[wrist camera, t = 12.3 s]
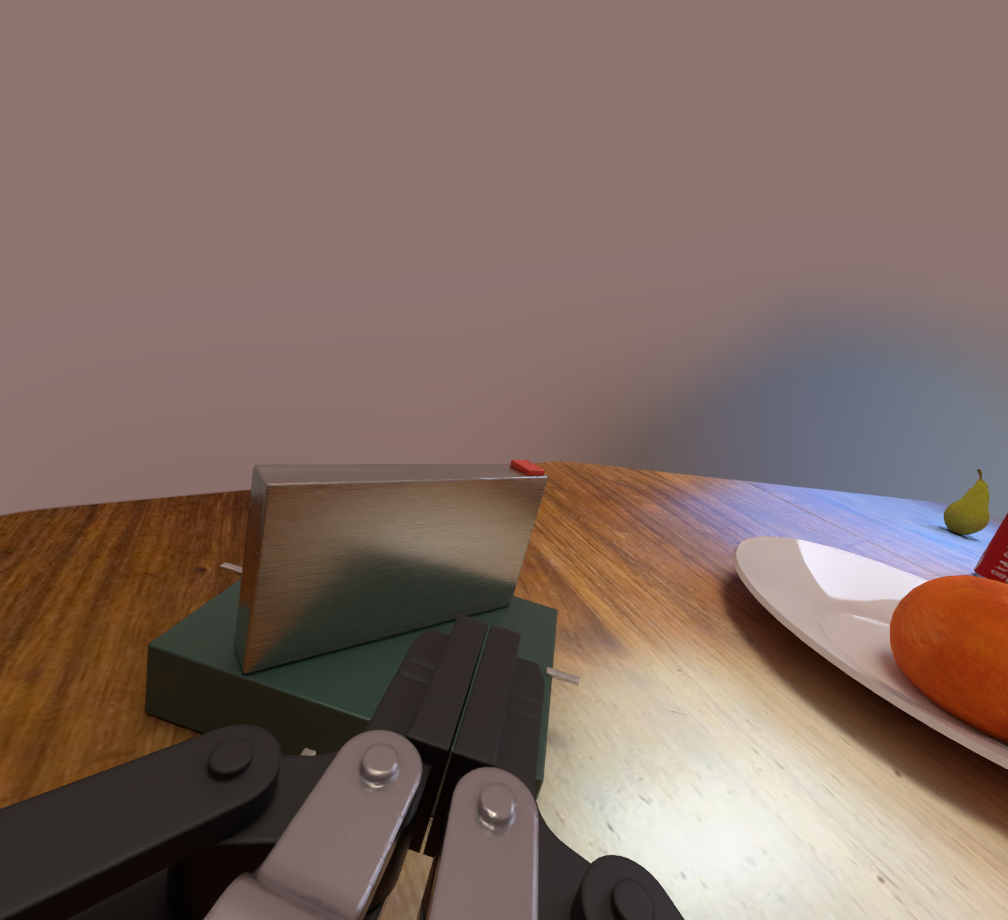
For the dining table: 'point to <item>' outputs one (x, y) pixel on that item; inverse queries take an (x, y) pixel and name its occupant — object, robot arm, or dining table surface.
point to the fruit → (969, 510)
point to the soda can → (995, 556)
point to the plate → (895, 632)
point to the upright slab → (377, 552)
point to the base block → (311, 678)
